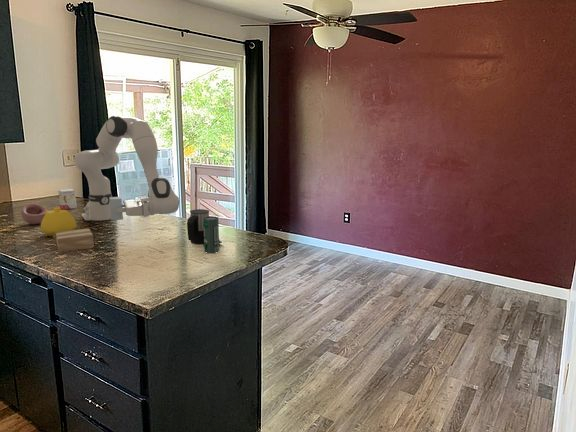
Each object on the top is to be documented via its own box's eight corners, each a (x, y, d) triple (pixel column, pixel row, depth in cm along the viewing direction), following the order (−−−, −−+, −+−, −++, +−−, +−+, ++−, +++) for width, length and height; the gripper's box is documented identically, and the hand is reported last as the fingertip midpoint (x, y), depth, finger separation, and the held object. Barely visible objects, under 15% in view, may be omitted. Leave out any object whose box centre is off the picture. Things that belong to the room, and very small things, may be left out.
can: (208, 248, 194) (207, 216, 191) (221, 249, 193) (220, 217, 189) (202, 252, 189) (201, 219, 185) (215, 253, 187) (214, 220, 184)
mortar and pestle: (28, 227, 227) (25, 206, 224) (18, 224, 234) (16, 203, 231) (52, 223, 236) (49, 203, 234) (42, 220, 243) (39, 200, 241)
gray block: (110, 218, 206) (109, 197, 204) (122, 217, 208) (120, 196, 206) (111, 220, 202) (109, 199, 199) (122, 219, 204) (121, 198, 201)
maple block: (56, 244, 199) (55, 232, 198) (90, 240, 206) (88, 228, 205) (59, 252, 188) (57, 239, 186) (94, 248, 195) (93, 235, 193)
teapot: (32, 233, 216) (28, 206, 213) (64, 227, 228) (61, 202, 225) (50, 241, 204) (47, 212, 201) (83, 234, 216) (80, 207, 212)
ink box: (63, 209, 270) (61, 191, 268) (59, 208, 274) (57, 190, 271) (77, 208, 277) (75, 189, 274) (73, 206, 280) (72, 188, 277)
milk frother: (193, 238, 210) (192, 208, 207) (225, 239, 210) (225, 209, 206) (185, 247, 196) (184, 215, 193) (220, 248, 196) (219, 215, 192)
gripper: (142, 196, 217) (112, 197, 212) (147, 204, 199) (114, 206, 194) (142, 208, 219) (113, 210, 213) (147, 217, 201) (115, 219, 195)
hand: (114, 208), depth 203 cm, fingers closed on gray block, 5 cm apart
